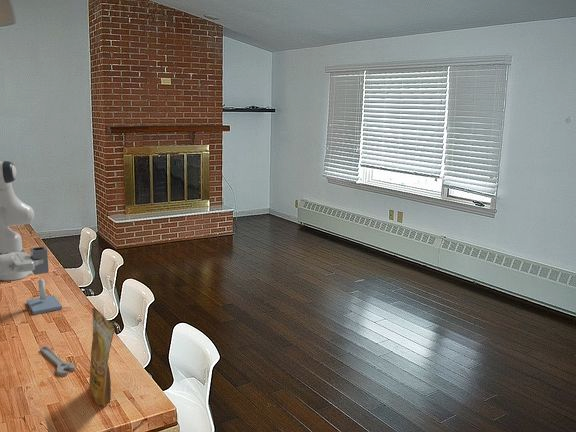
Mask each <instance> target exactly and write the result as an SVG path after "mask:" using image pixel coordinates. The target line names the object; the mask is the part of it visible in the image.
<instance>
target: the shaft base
mask: <svg viewBox="0 0 576 432" xmlns="http://www.w3.org/2000/svg"><path fill="white" fill-rule="evenodd" d="M37 282H38V292H39V293H38V295H39V297H36V298H30V299H26V303H27V305H28V307H29V309H30V311H31V312H32V314H33V316H35V315H39V314H44V313H49V312H55V311H60V310H63V305H62V304H61V302H60V301H59V300H58V299H57V297H56V295H54V294H53V295H46V286H45V285H46V284H45V279H43V278H41V279H39V280H38V281H37Z"/></svg>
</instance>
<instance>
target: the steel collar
mask: <svg viewBox="0 0 576 432" xmlns="http://www.w3.org/2000/svg"><path fill="white" fill-rule="evenodd" d="M29 250H30V251H29V253H30V254H29V255H31V259H32V261H34V260H35V261H36V260H39V259H43V262H44V263H43V264H39V265H36V266H35V269H34V270H32V272H33V273H32V274H33V275H34V276H37V275H42V274H48V273H49V258H48V249H47V248H46V247H45V246H44V245H43V246H36V247H30V248H29Z"/></svg>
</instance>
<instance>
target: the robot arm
mask: <svg viewBox="0 0 576 432" xmlns="http://www.w3.org/2000/svg"><path fill="white" fill-rule="evenodd" d="M17 174H18V173H17V168H16V166H15V164H14V163H13V162H12V161H9V160H4V161H3V160H2V161H1V160H0V281H17V280H21V279H24V278H27V277H28V276H30V275H33V274H34V273H33V272H32V270H34V269H35V266H36V265H39V264H43V263H44V262H43V259H39V260H36V261H35V260H34V261H32V259H31V254H28V253H27V252H26V251H25V250H24V249H23V243H22V242H23V241H22V240H23V239H22V236H21V235H20V234H19V233H18V232H17V231H14V230H12V229H11V228H10V227H11V226H12V227H13V226H23V225H28V224H29V225H30V224H31V223H32V222H33V221H34V218H35V210H34V209H33V208H32V206H31V205H29V204H27V203H24V202H23V201H22V200H21V199H19V198H18V196H17V194H16V193H15V191H14V190H15V189H14V188H13V182H14V181H15V180H16V178H17ZM9 226H10V227H9Z"/></svg>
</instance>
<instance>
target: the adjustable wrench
mask: <svg viewBox="0 0 576 432" xmlns="http://www.w3.org/2000/svg"><path fill="white" fill-rule="evenodd" d="M40 352H41V353H42V355H44V356H45V357H46V358H47V359H49V361H51V362H52V363H53V364H54V365H55V366H57V368H56V374H57V375H58V376H63V377H66V376H68V375H69V371H71V372H75V371H76V366H75V364H74V362H65V361H63V360H62V358H60V357H59V356H58V355H57V354H56V353H55V352H54V351H52V349H50V348H49V347H48V346H42V347H41V348H40ZM67 370H69V371H67Z"/></svg>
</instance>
